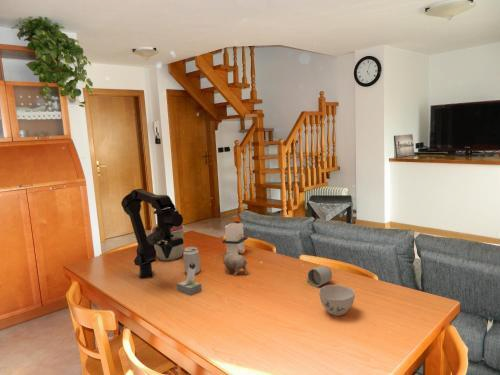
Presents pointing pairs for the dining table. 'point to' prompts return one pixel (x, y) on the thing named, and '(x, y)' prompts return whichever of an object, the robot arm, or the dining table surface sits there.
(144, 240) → the robot arm
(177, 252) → the canister
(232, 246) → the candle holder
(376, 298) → the dining table surface
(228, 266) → the rhinoceros figurine
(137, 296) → the dining table surface
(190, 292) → the switch box
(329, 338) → the dining table surface
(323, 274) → the ceramic mug
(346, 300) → the teacup
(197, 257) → the can
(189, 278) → the toggle lever
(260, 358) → the dining table surface
